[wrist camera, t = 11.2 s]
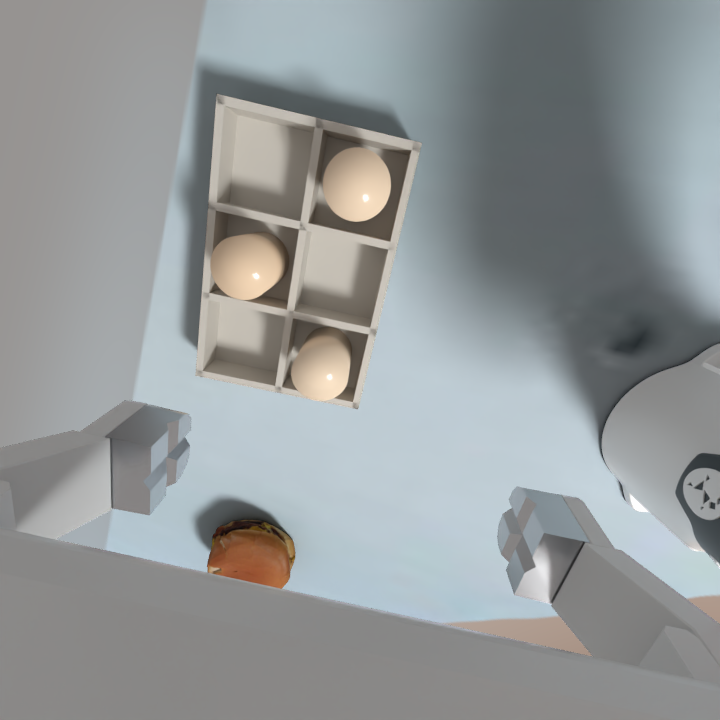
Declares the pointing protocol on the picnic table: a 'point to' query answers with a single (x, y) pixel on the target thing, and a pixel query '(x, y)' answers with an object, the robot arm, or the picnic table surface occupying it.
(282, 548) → the burger
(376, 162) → the egg
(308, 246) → the carton
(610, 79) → the picnic table surface
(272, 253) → the egg
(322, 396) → the egg
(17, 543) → the robot arm
